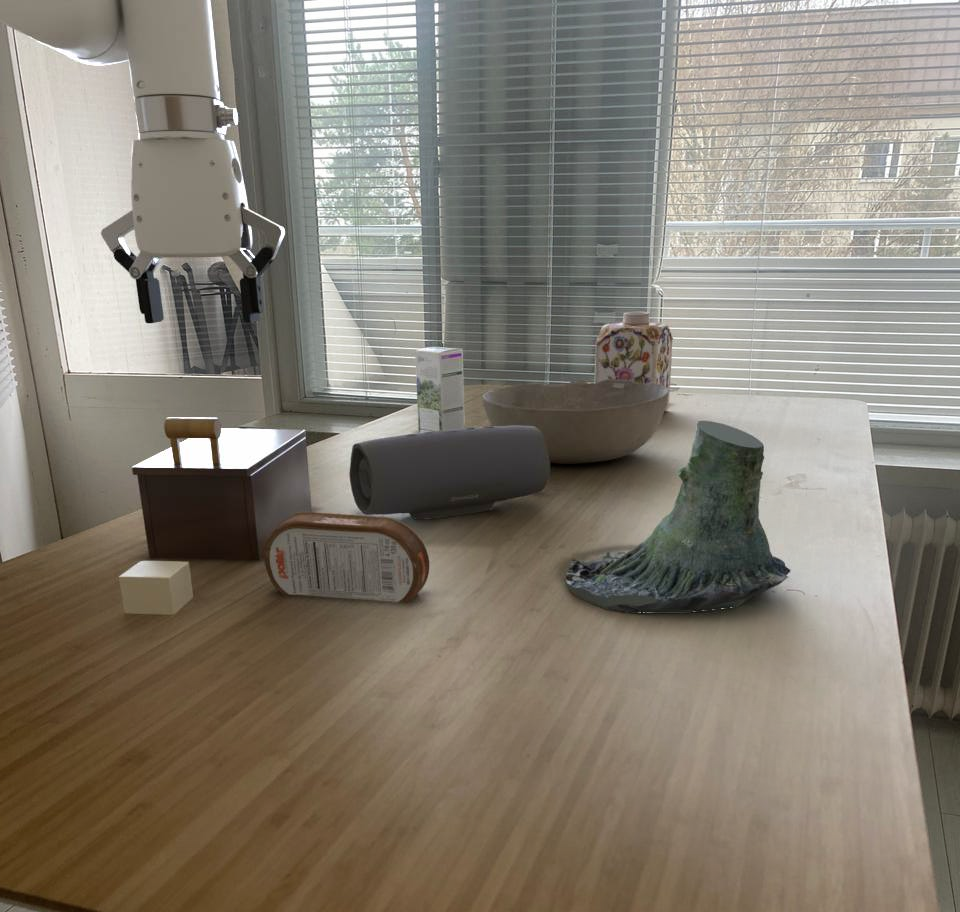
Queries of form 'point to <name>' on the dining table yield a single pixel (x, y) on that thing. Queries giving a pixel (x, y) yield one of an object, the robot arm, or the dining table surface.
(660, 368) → the decorative jar
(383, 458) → the bluetooth speaker
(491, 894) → the dining table surface
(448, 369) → the syrup box
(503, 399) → the bowl
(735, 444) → the tree stump
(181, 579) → the block
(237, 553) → the chest
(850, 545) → the dining table surface
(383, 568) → the tin
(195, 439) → the lid
